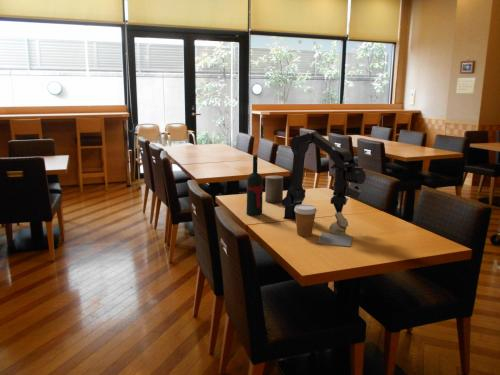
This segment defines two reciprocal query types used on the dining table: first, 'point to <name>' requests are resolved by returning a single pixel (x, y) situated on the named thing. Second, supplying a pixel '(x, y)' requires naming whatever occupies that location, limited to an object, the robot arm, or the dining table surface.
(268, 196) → the pillar candle
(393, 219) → the dining table surface
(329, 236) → the mat
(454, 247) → the dining table surface
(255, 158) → the wine bottle
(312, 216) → the disposable coffee cup
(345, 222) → the chocolate bunny
